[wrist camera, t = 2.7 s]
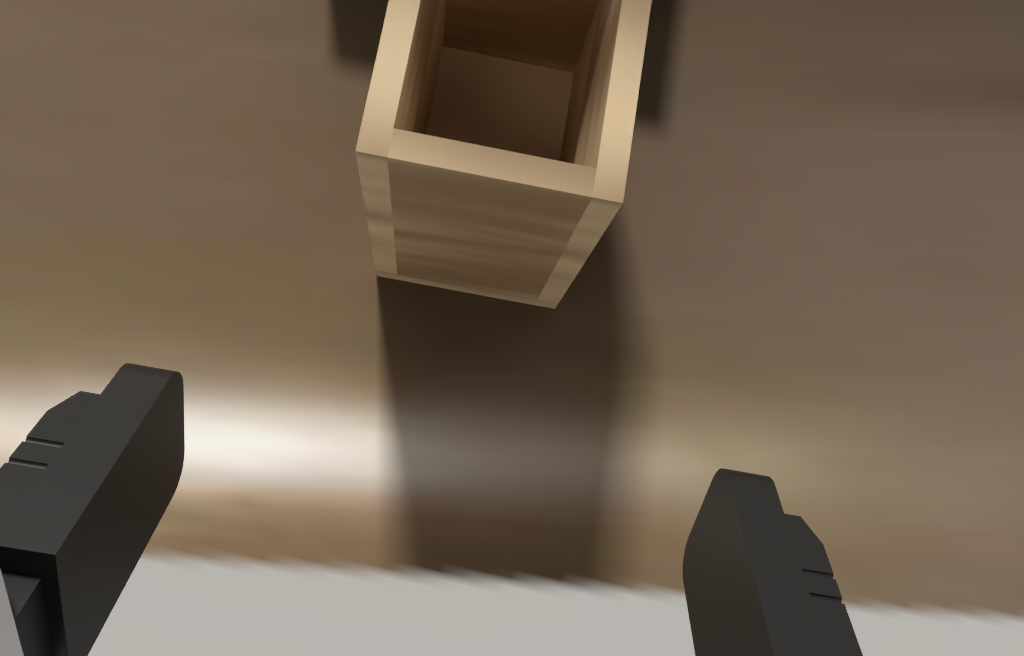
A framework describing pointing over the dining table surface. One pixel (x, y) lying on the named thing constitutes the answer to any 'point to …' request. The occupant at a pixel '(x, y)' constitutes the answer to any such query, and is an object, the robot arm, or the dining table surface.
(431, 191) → the oak crate
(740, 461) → the dining table surface
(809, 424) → the dining table surface
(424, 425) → the dining table surface
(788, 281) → the dining table surface
